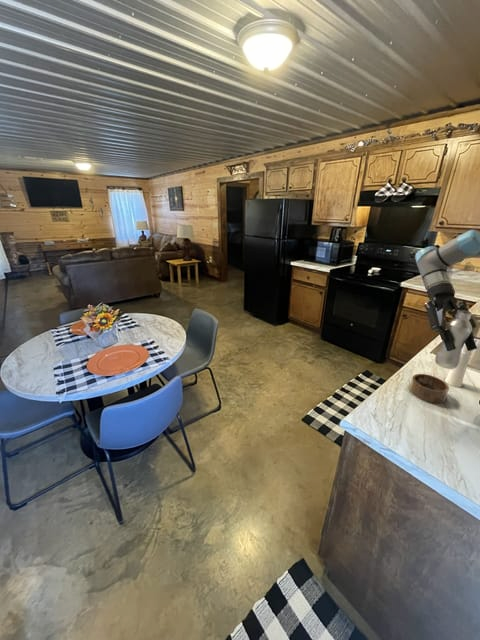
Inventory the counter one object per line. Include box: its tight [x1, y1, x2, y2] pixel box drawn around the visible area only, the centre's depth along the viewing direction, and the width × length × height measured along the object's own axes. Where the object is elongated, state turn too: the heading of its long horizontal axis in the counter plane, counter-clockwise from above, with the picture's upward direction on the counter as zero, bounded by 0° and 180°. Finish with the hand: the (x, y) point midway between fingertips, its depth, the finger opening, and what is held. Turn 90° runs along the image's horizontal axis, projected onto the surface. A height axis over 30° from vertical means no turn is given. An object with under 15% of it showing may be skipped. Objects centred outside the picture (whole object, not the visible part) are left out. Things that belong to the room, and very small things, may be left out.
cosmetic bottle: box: [444, 344, 472, 388], centre depth 106 cm, size 6×6×22 cm
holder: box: [409, 373, 450, 404], centre depth 102 cm, size 12×12×6 cm
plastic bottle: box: [434, 310, 473, 370], centre depth 87 cm, size 6×7×20 cm
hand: (462, 349), depth 84 cm, fingers closed on plastic bottle, 6 cm apart
